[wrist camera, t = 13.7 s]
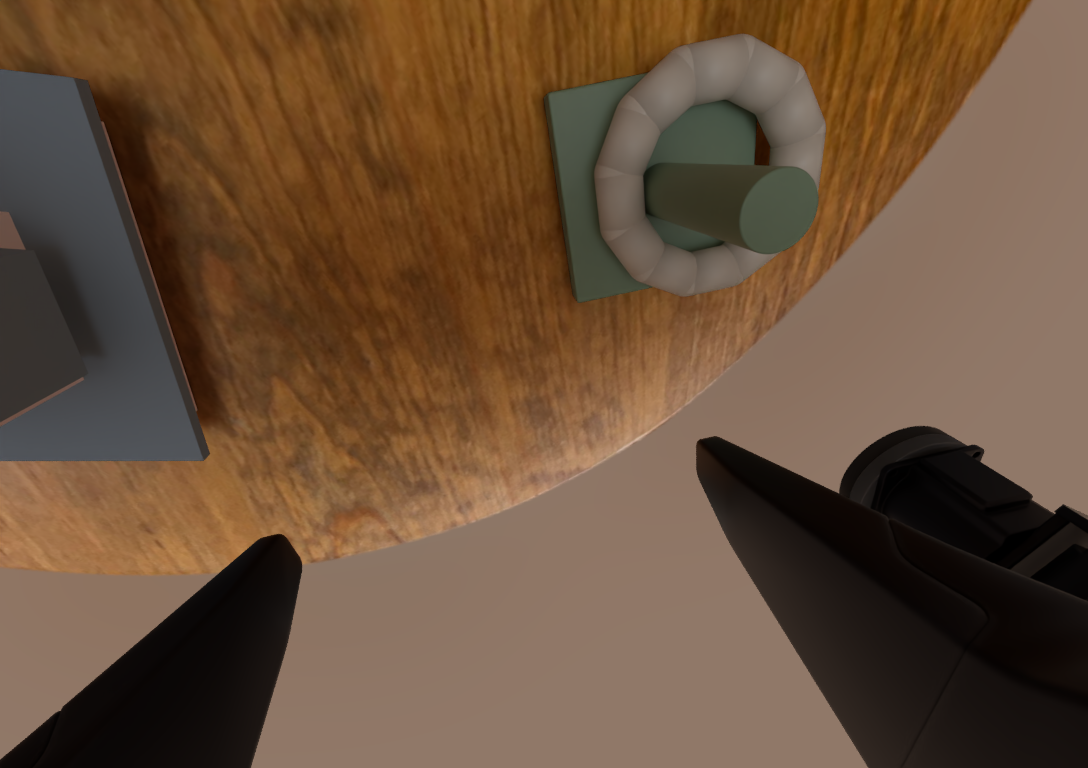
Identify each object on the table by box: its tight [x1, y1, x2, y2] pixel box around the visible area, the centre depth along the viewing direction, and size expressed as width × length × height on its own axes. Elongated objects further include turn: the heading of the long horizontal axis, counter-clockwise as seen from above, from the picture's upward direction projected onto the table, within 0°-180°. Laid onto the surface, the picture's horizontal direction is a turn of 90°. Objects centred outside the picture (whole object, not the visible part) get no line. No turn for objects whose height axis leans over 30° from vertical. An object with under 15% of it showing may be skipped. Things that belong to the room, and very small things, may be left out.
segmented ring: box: [594, 34, 826, 296], centre depth 17 cm, size 9×9×2 cm
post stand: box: [544, 73, 818, 303], centre depth 14 cm, size 8×8×9 cm
